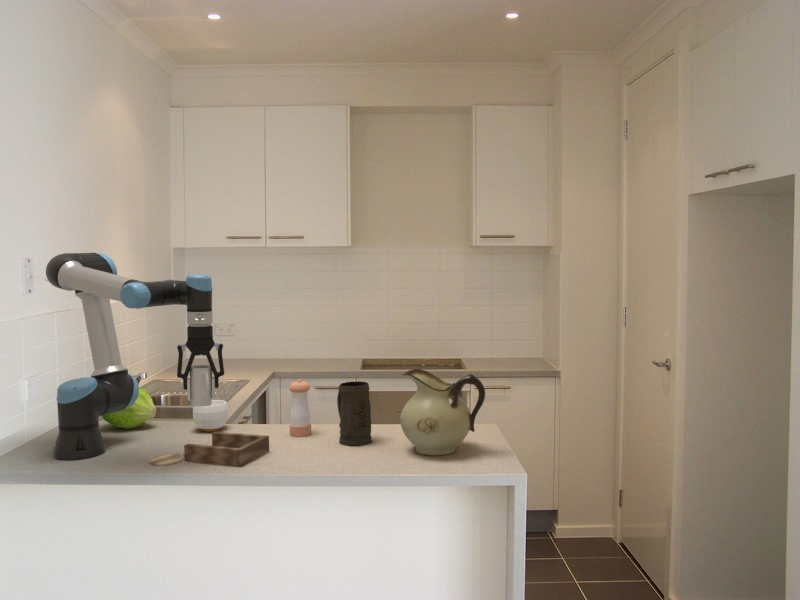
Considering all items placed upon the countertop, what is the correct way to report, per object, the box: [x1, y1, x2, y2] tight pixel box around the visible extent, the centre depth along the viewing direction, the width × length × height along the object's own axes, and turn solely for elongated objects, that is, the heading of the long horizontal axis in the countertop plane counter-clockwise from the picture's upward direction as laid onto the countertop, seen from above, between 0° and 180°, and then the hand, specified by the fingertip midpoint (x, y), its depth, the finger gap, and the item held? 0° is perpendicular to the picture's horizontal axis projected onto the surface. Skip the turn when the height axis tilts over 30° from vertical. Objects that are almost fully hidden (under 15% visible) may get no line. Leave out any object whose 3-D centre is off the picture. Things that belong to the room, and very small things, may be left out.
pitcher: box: [399, 368, 486, 456], centre depth 219 cm, size 22×24×25 cm
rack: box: [183, 431, 270, 468], centre depth 217 cm, size 20×17×5 cm
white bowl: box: [192, 399, 229, 433], centre depth 250 cm, size 12×12×10 cm
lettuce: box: [101, 387, 157, 430], centre depth 255 cm, size 17×20×15 cm
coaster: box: [148, 453, 185, 466], centre depth 213 cm, size 10×10×1 cm
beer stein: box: [336, 380, 373, 447], centre depth 232 cm, size 15×11×20 cm
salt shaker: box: [288, 379, 312, 438], centre depth 241 cm, size 7×7×19 cm
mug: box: [189, 364, 213, 407], centre depth 215 cm, size 10×7×12 cm, turn 33°
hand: (201, 398), depth 215 cm, fingers closed on mug, 7 cm apart
